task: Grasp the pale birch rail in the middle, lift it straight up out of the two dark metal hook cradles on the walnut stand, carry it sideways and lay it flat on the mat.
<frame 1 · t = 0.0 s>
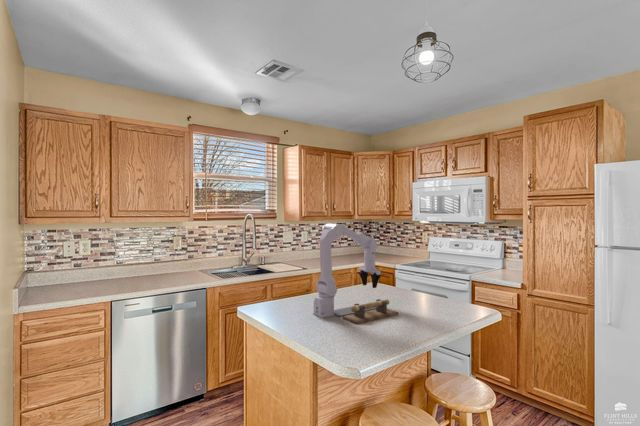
hand: (369, 286, 180), 10 cm above the countertop, tool pointing down, fingers open, 7 cm apart
rail: (370, 308, 161), point 4 cm above the countertop, touching hook stand
mat: (354, 310, 170), on the countertop
hook stand: (370, 316, 161), on the countertop
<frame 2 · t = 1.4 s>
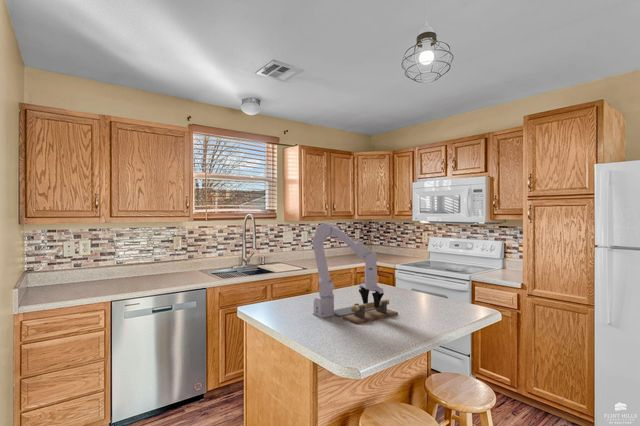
hand: (370, 305, 161), 5 cm above the countertop, tool pointing down, fingers open, 7 cm apart
nothing on the countertop moved.
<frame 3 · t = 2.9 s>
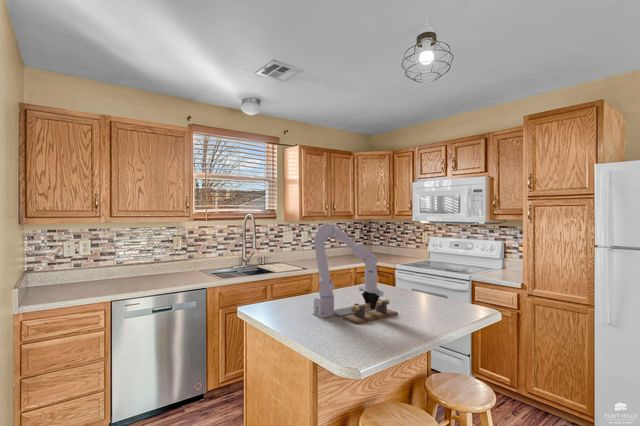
hand: (370, 308, 161), 4 cm above the countertop, tool pointing down, fingers closed on rail, 2 cm apart
rail: (370, 308, 161), point 4 cm above the countertop, touching gripper, hook stand
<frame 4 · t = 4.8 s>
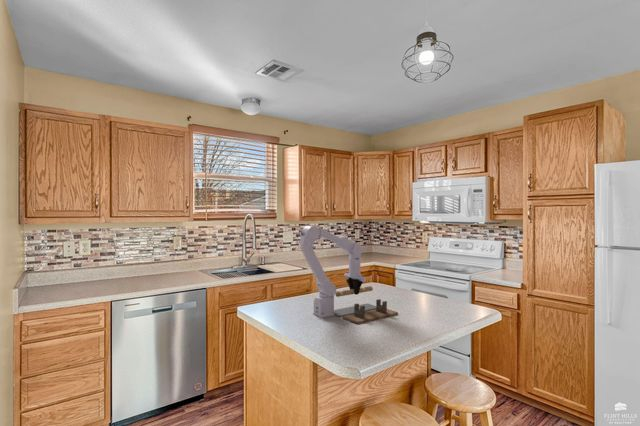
hand: (354, 293, 170), 8 cm above the countertop, tool pointing down, fingers closed on rail, 2 cm apart
rail: (354, 293, 170), point 8 cm above the countertop, touching gripper
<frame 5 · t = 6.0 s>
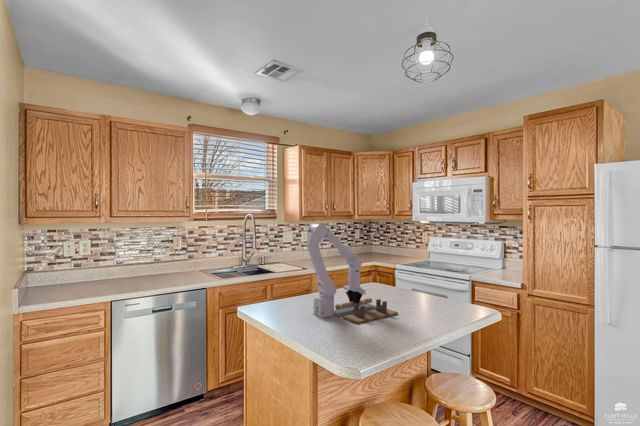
hand: (354, 306, 170), 2 cm above the countertop, tool pointing down, fingers closed on rail, 2 cm apart
rail: (354, 306, 170), point 2 cm above the countertop, touching gripper
when the fingers open (2 cm above the countertop, at t = 6.8 s): rail drops 1 cm, resting on mat.
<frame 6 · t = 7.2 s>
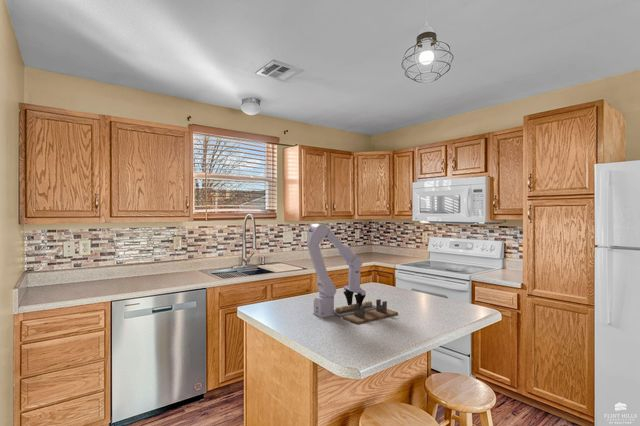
hand: (354, 306, 170), 2 cm above the countertop, tool pointing down, fingers open, 6 cm apart
rail: (354, 309, 170), point 1 cm above the countertop, tilted 5°, touching mat
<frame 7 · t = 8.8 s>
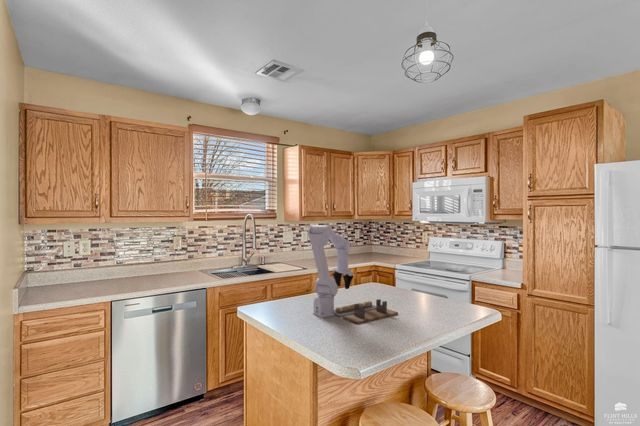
hand: (342, 287, 180), 9 cm above the countertop, tool pointing down, fingers open, 7 cm apart
nothing on the countertop moved.
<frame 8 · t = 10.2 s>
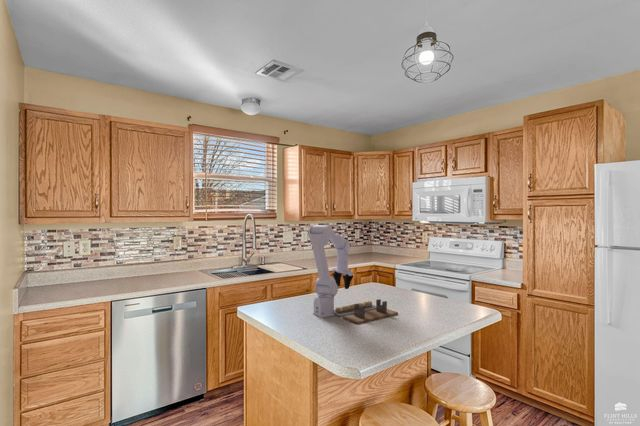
hand: (342, 287, 180), 9 cm above the countertop, tool pointing down, fingers open, 7 cm apart
nothing on the countertop moved.
at the end: rail inside the target area (0.1 cm from its centre), point 0.6 cm above the countertop; rail touching mat; the gripper is holding nothing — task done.
